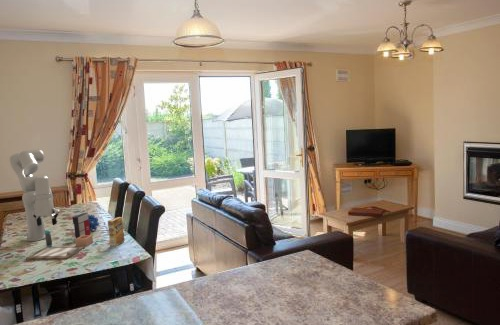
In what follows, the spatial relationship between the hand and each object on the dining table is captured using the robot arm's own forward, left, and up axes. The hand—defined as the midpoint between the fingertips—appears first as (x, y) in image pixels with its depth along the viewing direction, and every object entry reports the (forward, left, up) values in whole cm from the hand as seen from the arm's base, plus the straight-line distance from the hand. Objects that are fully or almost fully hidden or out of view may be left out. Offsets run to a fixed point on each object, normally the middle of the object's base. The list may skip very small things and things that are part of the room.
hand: (47, 224), depth 230 cm
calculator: (+11, +17, -14) cm, 25 cm away
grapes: (+9, +31, -14) cm, 36 cm away
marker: (-1, 0, -14) cm, 14 cm away
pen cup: (+20, +3, -14) cm, 25 cm away
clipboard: (+12, -13, -14) cm, 22 cm away
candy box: (+41, +4, -14) cm, 44 cm away
